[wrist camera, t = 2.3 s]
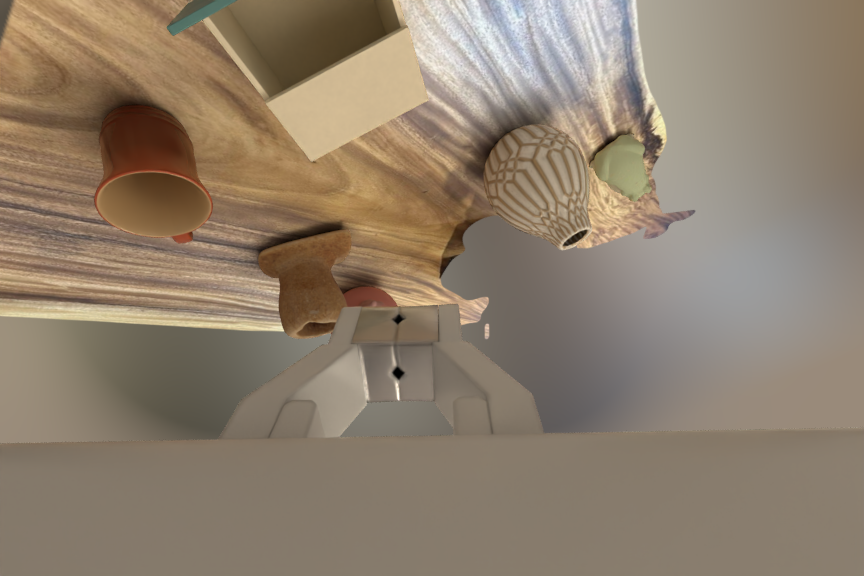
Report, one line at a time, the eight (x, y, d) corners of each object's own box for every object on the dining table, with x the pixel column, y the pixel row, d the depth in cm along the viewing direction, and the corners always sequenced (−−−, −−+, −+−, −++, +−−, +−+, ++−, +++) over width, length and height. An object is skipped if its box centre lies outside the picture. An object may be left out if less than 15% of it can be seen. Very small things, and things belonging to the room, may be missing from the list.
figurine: (599, 186, 90) (624, 218, 86) (582, 158, 77) (611, 194, 73) (639, 156, 86) (668, 189, 82) (629, 121, 73) (663, 158, 69)
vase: (451, 171, 64) (508, 268, 56) (521, 90, 55) (601, 192, 47) (505, 190, 75) (558, 272, 67) (570, 125, 66) (640, 211, 58)
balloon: (396, 254, 79) (425, 317, 73) (381, 300, 96) (403, 356, 90) (322, 268, 73) (347, 339, 67) (319, 316, 89) (339, 376, 83)
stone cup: (267, 280, 69) (288, 355, 63) (249, 242, 59) (272, 327, 53) (349, 258, 74) (375, 326, 68) (346, 219, 63) (376, 295, 57)
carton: (169, -68, 28) (189, 9, 24) (326, -157, 27) (375, -94, 23) (285, 96, 42) (311, 162, 37) (391, 39, 41) (429, 100, 37)
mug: (66, 96, 34) (69, 180, 30) (178, 87, 37) (195, 162, 33) (133, 192, 44) (141, 264, 40) (216, 179, 47) (232, 245, 43)
